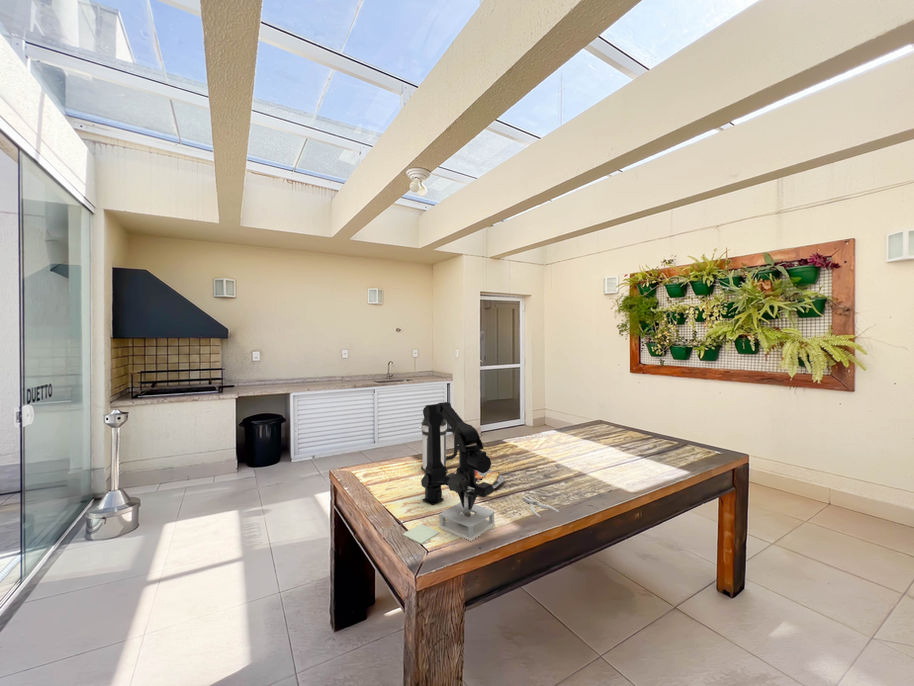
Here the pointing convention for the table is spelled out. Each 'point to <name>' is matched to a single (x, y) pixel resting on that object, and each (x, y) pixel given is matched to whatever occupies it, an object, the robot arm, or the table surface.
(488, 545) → the table surface
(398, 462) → the table surface
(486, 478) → the food plate
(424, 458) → the coffee press
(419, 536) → the mat
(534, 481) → the table surface
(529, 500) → the pliers
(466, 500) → the shiny metal cylinder
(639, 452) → the table surface
